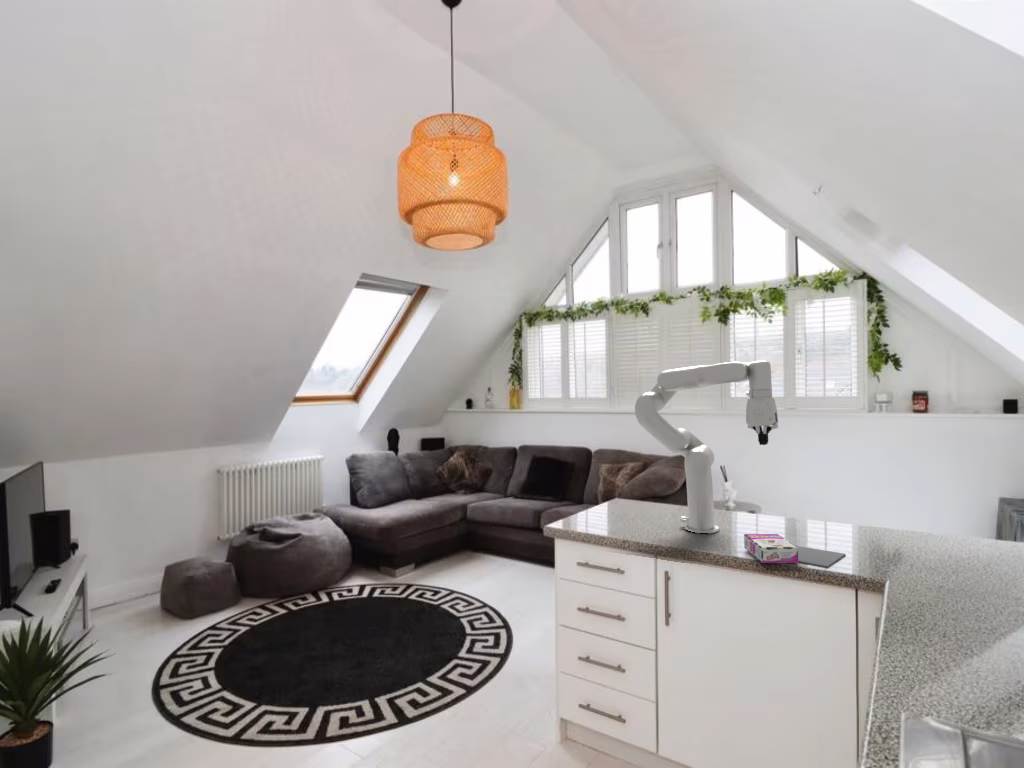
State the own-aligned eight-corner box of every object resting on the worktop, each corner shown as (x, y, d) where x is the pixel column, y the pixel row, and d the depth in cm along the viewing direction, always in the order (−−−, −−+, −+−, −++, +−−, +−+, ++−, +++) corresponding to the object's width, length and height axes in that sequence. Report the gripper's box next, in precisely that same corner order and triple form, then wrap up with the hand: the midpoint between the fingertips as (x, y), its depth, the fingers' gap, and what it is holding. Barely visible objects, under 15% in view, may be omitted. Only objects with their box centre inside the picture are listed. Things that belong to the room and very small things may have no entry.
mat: (760, 555, 182) (760, 553, 182) (780, 544, 193) (780, 543, 193) (827, 567, 167) (827, 566, 167) (845, 555, 178) (845, 553, 178)
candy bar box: (743, 548, 188) (761, 563, 172) (743, 533, 188) (760, 547, 172) (778, 548, 187) (799, 563, 171) (777, 533, 187) (798, 546, 171)
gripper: (736, 395, 209) (739, 444, 209) (777, 394, 198) (780, 446, 198) (745, 394, 214) (748, 442, 214) (786, 393, 203) (788, 444, 203)
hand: (763, 444), depth 206 cm, fingers closed
